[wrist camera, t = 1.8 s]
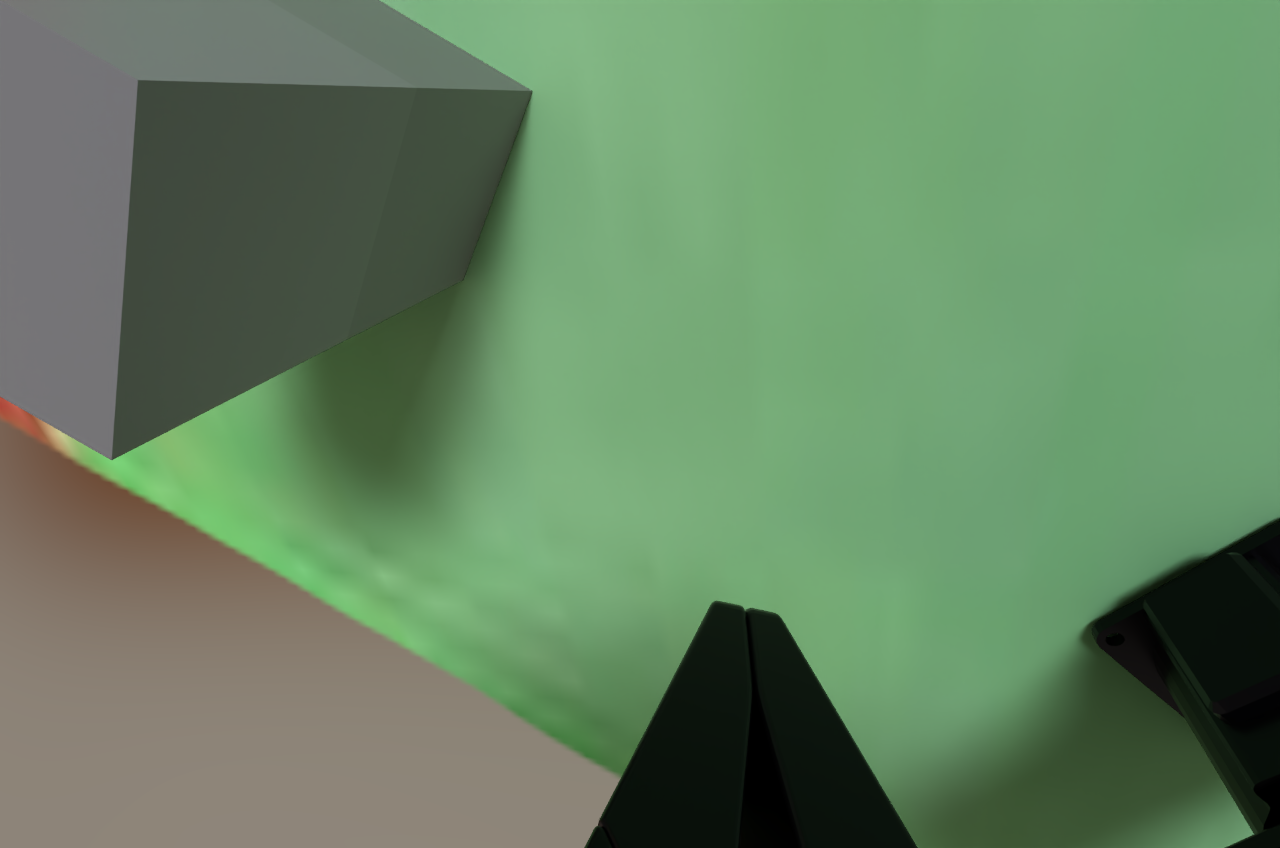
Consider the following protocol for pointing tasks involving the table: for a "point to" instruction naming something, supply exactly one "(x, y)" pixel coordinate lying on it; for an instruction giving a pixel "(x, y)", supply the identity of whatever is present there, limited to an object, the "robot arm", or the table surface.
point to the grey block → (224, 195)
